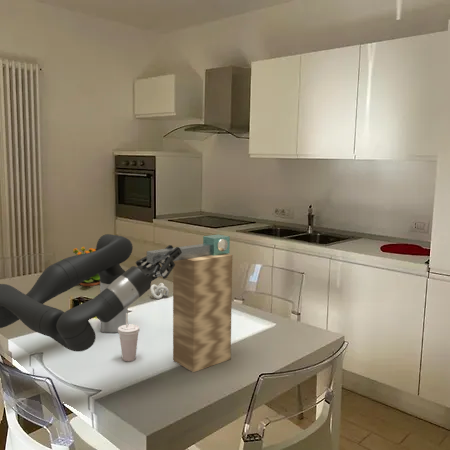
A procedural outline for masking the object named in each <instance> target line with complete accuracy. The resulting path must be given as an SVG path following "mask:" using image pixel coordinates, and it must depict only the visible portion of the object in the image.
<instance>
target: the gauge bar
mask: <svg viewBox="0 0 450 450" xmlns="http://www.w3.org/2000/svg"><path fill="white" fill-rule="evenodd" d="M230 239H231V237H230V236H228V235H224V234H213V235H212V234H211V235H204V236H203V239H202V243H199V244H191V245H184V246H178V247H179V248H180V250H181V252H182V253H181V254H180V255H179V256H178V257H177V258H176V259H175V260H173V261H177V260H184V259H190V258H196V257H203V256H209V255H213V256H215V255H222V254H230V248H231V247H230V243H231V241H230ZM176 247H177V246H175V247H173V248H168V249H165V248H161V249H154V250H147V251H146V256H147V262H148V263H152V264H154V263H155V262H156V261H157V260H158V259H162V258H163V257H165V256H166V255H168V254H169V253H170V252H171V251H173V250H174V249H175V248H176ZM165 262H166V260H165V261H164V263H165Z"/></svg>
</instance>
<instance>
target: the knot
mask: <svg viewBox="0 0 450 450" xmlns="http://www.w3.org/2000/svg"><path fill="white" fill-rule="evenodd" d="M149 290H150V293H151V296H152V297H153V298H154V299H156V300H161V299H162V297H164V298H166V297H168V296H169V295H170V291H169V288H168V287H167V286H165V284H164V283H163V282H160V283H159V284H158V285H157V284H151V288H150V289H149Z"/></svg>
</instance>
